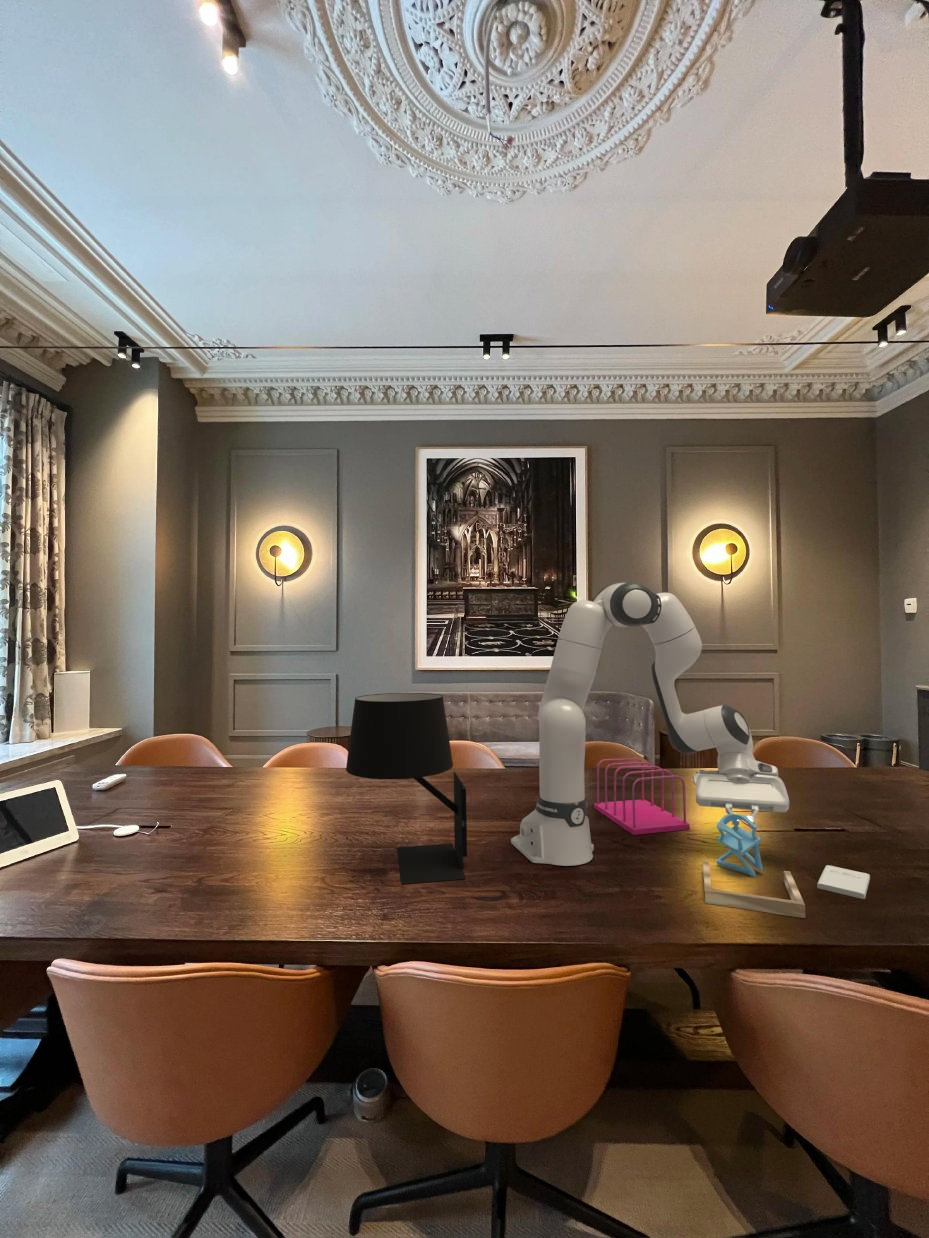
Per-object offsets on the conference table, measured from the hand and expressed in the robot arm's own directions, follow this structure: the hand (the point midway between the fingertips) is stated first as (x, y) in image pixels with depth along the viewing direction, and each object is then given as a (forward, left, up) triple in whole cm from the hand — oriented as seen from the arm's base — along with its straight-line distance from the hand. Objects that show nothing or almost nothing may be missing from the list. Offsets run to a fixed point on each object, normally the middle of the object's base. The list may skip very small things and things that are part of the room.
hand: (743, 824), depth 128 cm
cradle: (+9, -11, -10) cm, 17 cm away
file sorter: (-38, +6, -10) cm, 40 cm away
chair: (0, -1, -9) cm, 9 cm away
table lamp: (-41, -68, -10) cm, 80 cm away
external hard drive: (+16, +11, -11) cm, 22 cm away
